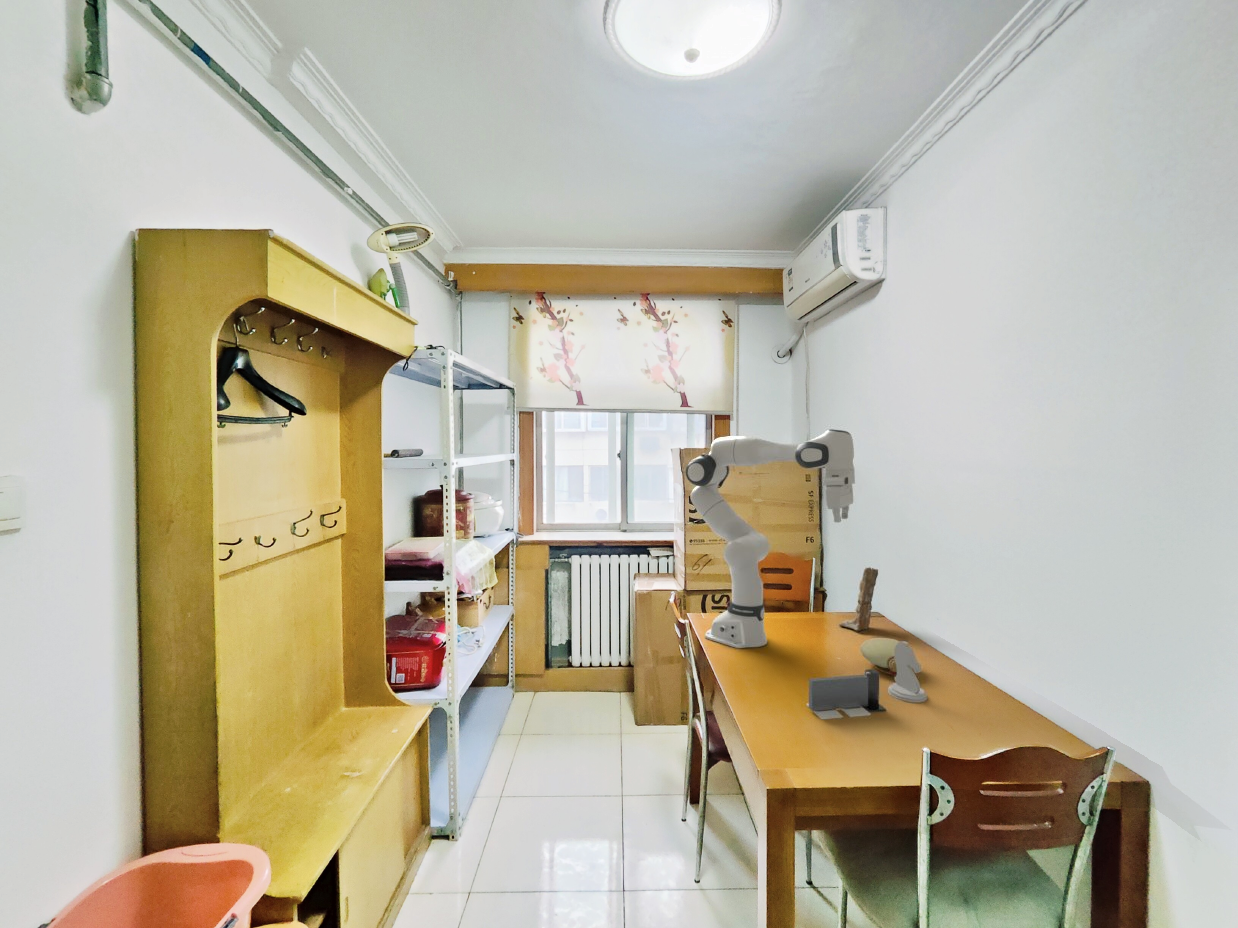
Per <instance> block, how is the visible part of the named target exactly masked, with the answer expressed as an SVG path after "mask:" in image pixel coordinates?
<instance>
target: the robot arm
mask: <svg viewBox="0 0 1238 928" xmlns="http://www.w3.org/2000/svg"><path fill="white" fill-rule="evenodd" d="M709 450H710V451H709V453H702V454H701V455H698V457H695V458H693V459H691V461H690V462H689V463H688V464H687V466H686V467H685V476H686V479H687V480H688V482H690V483H691V484H692V485H694V486H695V487H694V488H693V489H692V491H691V492H690V495H689V496H690V502H691V503H692V505H693V507H694V509H695V510H696V511H697V513H698V515H699V516H700V517H701V518H702V520H703V521H704V522H705V523H706V524H707V526H708V527H709V528H710V529H711V531H712V532H713V533H714V534H715V535H716V536H717V537H720V538H721V539H723V540H725V541H726V542H727V543H726V545H725V547H724V549H723V552H722V553H723V559H724V560H725V562H726V564H727V565H728V569H729V572H730V577H731V599H730V600H729V601H728V602H726V604H725V608H726V609H727V610H725V611H723V612H722V613H720V614H719V615H718V616H716V617H715V618H714V619H713V621H712V622H711V628H710V629H708V630H707V631H706V632H705V633H704V634H705V635H704V638H705V639H706V640H711V641H714V642H716V643H719V644H723V645H726V646H728V647H729V646H730V647H732V648H735V649H743V648H759V647H763V646H765V645H767V644H768V639H767V636H766V631H765V624H764V619H765V603H764V598H763V597H764V582H763V579H762V578H761V575H760V572H759V567H758V566H759V565H758V564H759V562H761V561H763V560H764V559H765V558H766V557H767V556H768V554H769V553H770V549H771V544H770V541H769V539H768V538H767V536H765V534H763V533H760V532H758V531H757V530H756V529H755V528H753V526H752V525H750V524H749V523H747V522H746V520H744V519H743V518H742V517H741V516H740V515H739V514H738V513H737V511H735V510H734V509H733V508H732V506H731V505H730V504H729V503H728V502H727V501H726V500H725V498H724V497H723V496H722V495H721V493H720V492H719V489H720V488H722V486H723V485H724V483H725V481H726V479H727V478H728V476H729V473H730V466H736V467H754V466H759V465H763V464H768V463H774V462H793V463H794V462H795V463H797V464H798V465H799V466H800V467H802V468H805V469H806V470H807V469H808V470H814V469H825V475H824V478H823V482H822V483H823V486H825V489H824V490H825V502H826V506H827V509H828V510H832V514H833V521H834V523H841V521H842V519H843V520H847V519H848V518H849V511H850V506H851V505H852V504H853V503H854V490H853V488H854V487H853V485H854V484H856V482H855V481H856V480H855V479H856V478H855V477H856V476H855V466H854V458H855V451H854V450H855V448H854V440H853V437H852V434H851V433H850V432H848V431H846V430H841V429H833V428H832V429H831V428H830V429H827V430H826V431H825V432H824V433H822V434H821V435H820V434H819V436H817V437H814V438H812V439H809V440H805V441H803V442H802V443H800V444H798V443H797V444H795V443H794V444H793V443H792V444H791V443H779V442H775V441H770V440H765V439H761V438H757V437H753V436H748V435H747V436H745V435H730V436H722V437H717V438H715V439H714V440H713V441H712V443H711V445H710V449H709Z"/></svg>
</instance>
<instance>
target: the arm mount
mask: <svg viewBox="0 0 1238 928" xmlns="http://www.w3.org/2000/svg"><path fill="white" fill-rule="evenodd" d="M863 708H864V709H865V710H867V711H868V712H869V713H876V712H886V711H887V709H886V708H885V707H884V706H883V705H882V704H880V703H879V707H878V708H870V707H867V706H863Z"/></svg>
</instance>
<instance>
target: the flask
mask: <svg viewBox="0 0 1238 928" xmlns="http://www.w3.org/2000/svg"><path fill="white" fill-rule="evenodd" d="M898 642H901V641H899V640H897V639H894V638H886V637H875V638H869V639H867V640H865V641H864V642H862V644H861V645H860V647H859V648H860V653H861V655H862V657H864V658H865V659H866V660H867V661H868V662H870V663H871V664H873V666H874V668H875V669H877V670H878V672H882V673H884V674H887V675H891V676H894V677H896V675H897V667H896V663H895V658H894V652H895V651H894V650H895V647H896V645H897V644H898ZM882 668H883V669H882ZM884 669H888V670H889V671H886V670H884Z"/></svg>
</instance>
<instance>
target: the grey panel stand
mask: <svg viewBox="0 0 1238 928" xmlns="http://www.w3.org/2000/svg"><path fill="white" fill-rule="evenodd" d="M808 703H809V707H808V709H809V710H810V711H812V712H813V711H817V710H829V709H835V710H837V709H840V708H852V707H863V706H867V707H870V708H878V707H879V704H880V671H877V670H874V669H866V670H864V674H856V675H855V674H854V675H843V676H842V675H839V676H827V677H815V678H813V677H812V678H809V679H808ZM840 710H841V709H840Z"/></svg>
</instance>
